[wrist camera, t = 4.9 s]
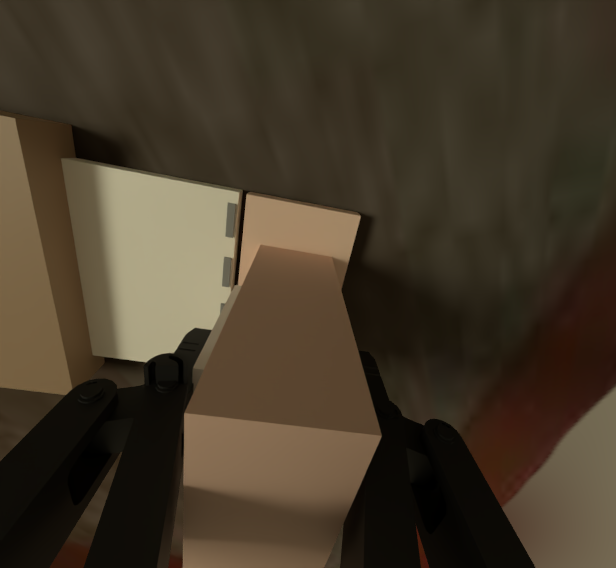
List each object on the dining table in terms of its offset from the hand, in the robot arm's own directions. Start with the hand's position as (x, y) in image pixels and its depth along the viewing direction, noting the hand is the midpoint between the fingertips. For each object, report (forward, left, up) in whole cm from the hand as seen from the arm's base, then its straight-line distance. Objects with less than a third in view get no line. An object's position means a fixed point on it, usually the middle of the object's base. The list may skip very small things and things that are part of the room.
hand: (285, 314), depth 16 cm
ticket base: (-10, 0, -2) cm, 11 cm away
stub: (0, 0, -2) cm, 2 cm away
